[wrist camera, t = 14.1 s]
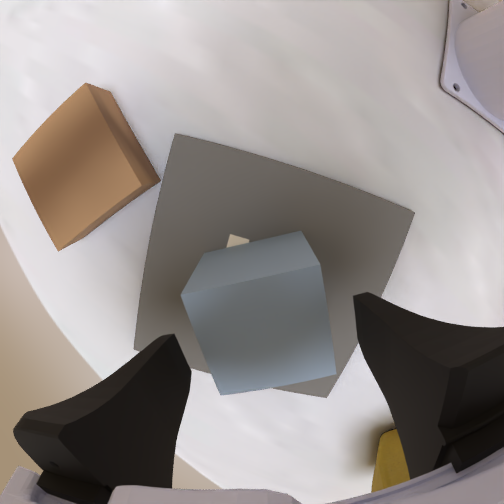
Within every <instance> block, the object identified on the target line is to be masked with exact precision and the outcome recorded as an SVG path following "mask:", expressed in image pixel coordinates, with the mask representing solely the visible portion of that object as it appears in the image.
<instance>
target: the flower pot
mask: <svg viewBox="0 0 504 504" xmlns="http://www.w3.org/2000/svg"><path fill="white" fill-rule="evenodd" d="M409 480H410V477H409V472H408V468H407V464H406V460H405V456H404V452H403V449H402V445H401V442H400V438H399V435H398V432H397V429H394V430H391V431H388V432H386V433H384V434H382V436H381V437H380V441H379V446H378V452H377V459H376V465H375V470H374V475H373V481H372V491H371V493H372V492H376V491H379V490H382V489H385V488H389V487H392V486H395V485H398V484H400V483H403V482H406V481H409Z"/></svg>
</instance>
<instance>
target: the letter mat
mask: <svg viewBox="0 0 504 504" xmlns="http://www.w3.org/2000/svg"><path fill="white" fill-rule="evenodd" d="M414 214H415V212H413V211H410V210H408V209H406V208H404V207H401V206H399V205H397V204H394V203H392V202H389V201H387V200H385V199H382V198H380V197H377V196H375V195H372V194H370V193H367V192H365V191H362V190H359V189H357V188H354V187H352V186H349V185H346V184H343V183H341V182H338V181H335V180H333V179H330V178H327V177H324V176H321V175H318V174H316V173H313V172H310V171H307V170H304V169H301V168H298V167H295V166H292V165H288V164H285V163H282V162H279V161H276V160H273V159H269V158H266V157H263V156H259V155H256V154H253V153H249V152H246V151H242V150H238V149H235V148H231V147H227V146H224V145H220V144H216V143H212V142H208V141H204V140H200V139H196V138H192V137H188V136H184V135H179V134H175V135H174V139H173V142H172V146H171V150H170V153H169V157H168V161H167V165H166V169H165V173H164V177H163V181H162V185H161V189H160V193H159V198H158V202H157V206H156V211H155V216H154V220H153V225H152V230H151V235H150V240H149V246H148V251H147V257H146V262H145V268H144V274H143V280H142V287H141V293H140V300H139V308H138V315H137V323H136V332H135V341H134V350H137V351H140V352H141V351H142V350H143V349H144V348H145V347H147V346H148V345H149V344H150V343H151V342H153V341H154V340H155V339H157V338H158V337H160V336H161V335H167V334H174V333H175V336H176V338H177V340H178V343H179V345H180V347H181V349H182V352H183V354H184V356H185V358H186V360H187V363H188V365H189V367H190V368H193V369H196V370H199V371H203V372H207V373H210V374H211V372H210V370H209V367H208V365H207V362H206V360H205V357H204V355H203V353H202V350H201V348H200V345H199V343H198V340H197V338H196V335H195V332H194V330H193V327H192V325H191V322H190V319H189V317H188V314H187V311H186V309H185V306H184V303H183V300H182V298H181V293H182V291H183V289H184V288H185V286H186V284H187V282H188V280H189V279H190V277H191V275H192V273H193V272H194V270H195V268H196V266H197V265H198V263H199V261H200V259H201V258H202V256H203V254H204V253H206V252H211V251H215V250H219V249H223V248H228V247H232V246H236V245H240V244H245V243H249V242H253V241H258V240H262V239H266V238H271V237H275V236H279V235H284V234H288V233H292V232H297V231H302V233H303V235H304V236H305V238H306V240H307V242H308V243H309V245H310V247H311V249H312V250H313V252H314V254H315V256H316V257H317V259H318V261H319V263H320V266H321V271H322V277H323V283H324V289H325V295H326V301H327V308H328V314H329V321H330V328H331V335H332V342H333V350H334V358H335V366H336V374H335V375H331V376H326V377H322V378H318V379H313V380H309V381H304V382H300V383H295V384H290V385H285V386H279V387H274V388H273V389H278V390H283V391H289V392H294V393H300V394H306V395H312V396H318V397H325V398H327V396H328V395H329V393H330V392H331V390H332V388H333V387H334V385H335V383H336V382H337V380H338V378H339V376H340V375H341V373H342V371H343V370H344V368H345V366H346V364H347V362H348V361H349V359H350V357H351V355H352V353H353V352H354V350H355V348H356V346H357V344H358V339H357V330H356V320H355V311H354V302H353V295H357V294H361V293H365V292H369V293H372V294H374V295H376V296H378V297H380V298H381V296H382V293H383V291H384V289H385V287H386V285H387V282H388V280H389V278H390V275H391V273H392V271H393V268H394V266H395V264H396V261H397V259H398V256H399V254H400V251H401V249H402V246H403V244H404V241H405V239H406V236H407V233H408V231H409V228H410V225H411V222H412V220H413V217H414Z"/></svg>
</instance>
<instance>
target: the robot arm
mask: <svg viewBox="0 0 504 504" xmlns="http://www.w3.org/2000/svg"><path fill="white" fill-rule="evenodd" d="M462 6H463V7H462ZM440 83H441V86H442V88H443V89H444V90H445V91H446V92H448V93H449V94H451V95H452V96H454V97H455V98H457V99H458V100H460V101H461V102H463V103H464V104H466V105H467V106H469V107H470V108H471V109H473V110H474V111H476V112H477V113H478V114H480V115H481V116H482V117H484V118H485V119H486V120H488V121H489V122H490V123H491V124H493V125H494V126H495V127H496V128H498V129H499V130H500V131H501V132H503V133H504V0H503V1H501V2H499V3H497V4H495V5H493V6H491V7H489V8H487V9H485V10H483V11H481V12H478V11H476V10H475V9H474V8H472V7H471V6H470V5H468V4H467V3H465V2H464V1H463V0H450V3H449V18H448V29H447V38H446V47H445V54H444V61H443V68H442V74H441V80H440ZM453 85H454V86H455V87H456V91H455V90H454V88H453ZM353 302H354V311H355V320H356V330H357V339H358V342H359V345H360V347H361V350H362V353H363V356H364V358H365V360H366V362H367V364H368V366H369V368H370V370H371V372H372V374H373V376H374V377H375V379H376V381H377V383H378V385H379V387H380V389H381V391H382V393H383V395H384V397H385V399H386V401H387V403H388V406H389V408H390V411H391V414H392V417H393V420H394V422H395V425H396V429H397V432H398V435H399V438H400V442H401V445H402V449H403V452H404V456H405V460H406V464H407V468H408V472H409V477H410V480H409V481H406V482H403V483H400V484H398V485H395V486H392V487H389V488H385V489H382V490H379V491H376V492H372V493H369V494H365V495H362V496H358V497H354V498H350V499H346V500H341V501H337V502H332V503H327V504H504V327H495V328H488V327H471V326H462V325H456V324H450V323H445V322H441V321H437V320H434V319H430V318H427V317H424V316H421V315H418V314H415V313H413V312H410V311H408V310H405V309H403V308H401V307H399V306H396V305H394V304H392V303H390V302H388V301H386V300H384V299H382V298H380V297H378V296H376V295H374V294H372V293H369V292H365V293H361V294H357V295H353ZM191 372H192V371H191V369H190V367H189V365H188V363H187V360H186V358H185V356H184V354H183V352H182V349H181V347H180V345H179V343H178V340H177V338H176V336H175V333H174V334H167V335H161V336H160V337H158V338H157V339H155V340H154V341H153V342H151V343H150V344H149V345H148V346H147V347H145V348H144V349H143V350H142V351H141V352H139V353H138V354H137V355H136V356H135V357H133V358H132V359H131V360H130V361H129V362H127V363H126V364H125V365H123V366H122V367H121V368H119V369H118V370H117V371H116V372H114V373H113V374H112V375H110V376H109V377H107V378H106V379H104V380H103V381H101V382H100V383H98V384H96V385H95V386H93V387H91V388H89V389H88V390H86V391H84V392H82V393H80V394H78V395H76V396H74V397H72V398H69V399H67V400H65V401H62V402H59V403H57V404H54V405H51V406H48V407H44V408H40V409H37V410H33V411H28V412H26V413H25V414H24V415H23V416H22V418H21V419H20V421H19V422H18V423H17V425H16V426H15V428H14V430H13V433H14V436H15V439H16V440H17V442H18V444H19V445H20V446H21V447H22V449H23V450H24V451H25V452H26V453H27V454H28V455H29V456H30V457H31V458H32V459H33V460H34V462H35V463H36V464H38V466H39V467H40V468H41V469H42V470H44V471H43V472H42V474H41V476H40V475H39V474H37V473H36V472H34V471H32V470H29V469H26V468H24V467H21V466H18V467H17V468H16V470H15V472H14V473H13V475H12V477H11V478H10V480H9V482H8V483H7V485H6V487H5V489H4V490H3V492H2V494H1V496H0V504H301V503H300V502H299V501H297V500H296V499H294V498H293V497H292V496H290V495H288V494H285V493H280V492H275V491H271V490H266V489H220V490H193V489H172V475H173V464H174V454H175V447H176V440H177V435H178V431H179V428H180V424H181V420H182V417H183V413H184V410H185V406H186V402H187V399H188V395H189V391H190V383H191Z"/></svg>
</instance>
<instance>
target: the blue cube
mask: <svg viewBox="0 0 504 504" xmlns="http://www.w3.org/2000/svg"><path fill="white" fill-rule="evenodd" d="M181 298H182V300H183V303H184V306H185V309H186V311H187V314H188V317H189V319H190V322H191V325H192V327H193V330H194V332H195V335H196V338H197V340H198V343H199V345H200V348H201V350H202V353H203V355H204V357H205V360H206V362H207V365H208V367H209V370H210V372H211V374H212V377H213V379H214V381H215V384H216V386H217V388H218V391H219V393H220V395H228V394H236V393H243V392H249V391H256V390H262V389H268V388H274V387H279V386H285V385H290V384H295V383H300V382H304V381H309V380H313V379H318V378H322V377H326V376H331V375H335V374H336V366H335V358H334V350H333V342H332V335H331V328H330V321H329V314H328V308H327V301H326V295H325V289H324V283H323V277H322V271H321V266H320V263H319V261H318V259H317V257H316V256H315V254H314V252H313V250H312V249H311V247H310V245H309V243H308V242H307V240H306V238H305V236H304V235H303V233H302V231H297V232H292V233H288V234H284V235H279V236H275V237H271V238H266V239H262V240H258V241H253V242H249V243H245V244H240V245H236V246H232V247H228V248H223V249H219V250H215V251H211V252H206V253H204V254H203V256H202V258H201V259H200V261H199V263H198V265H197V266H196V268H195V270H194V272H193V273H192V275H191V277H190V279H189V280H188V282H187V284H186V286H185V288H184V289H183V291H182V293H181Z"/></svg>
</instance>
